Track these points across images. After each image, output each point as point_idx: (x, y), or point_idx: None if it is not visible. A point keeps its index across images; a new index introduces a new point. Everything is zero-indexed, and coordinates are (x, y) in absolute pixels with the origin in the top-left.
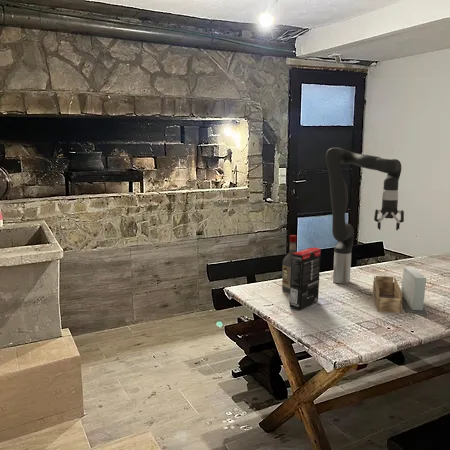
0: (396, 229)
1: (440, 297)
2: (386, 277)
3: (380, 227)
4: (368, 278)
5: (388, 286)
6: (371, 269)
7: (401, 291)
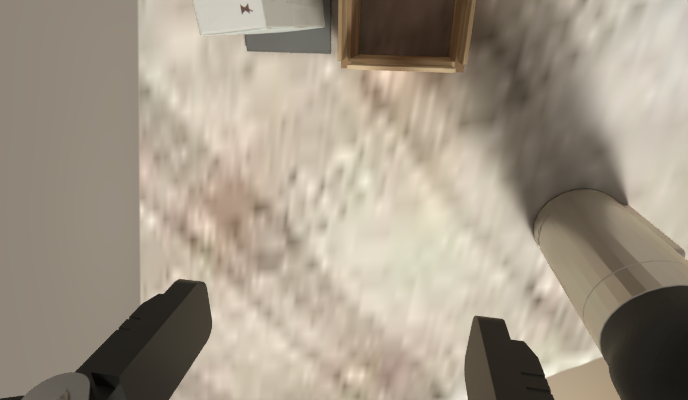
0: (197, 289)
1: (157, 57)
2: (388, 66)
3: (484, 341)
4: (429, 279)
5: (378, 57)
6: (394, 384)
7: (318, 17)
